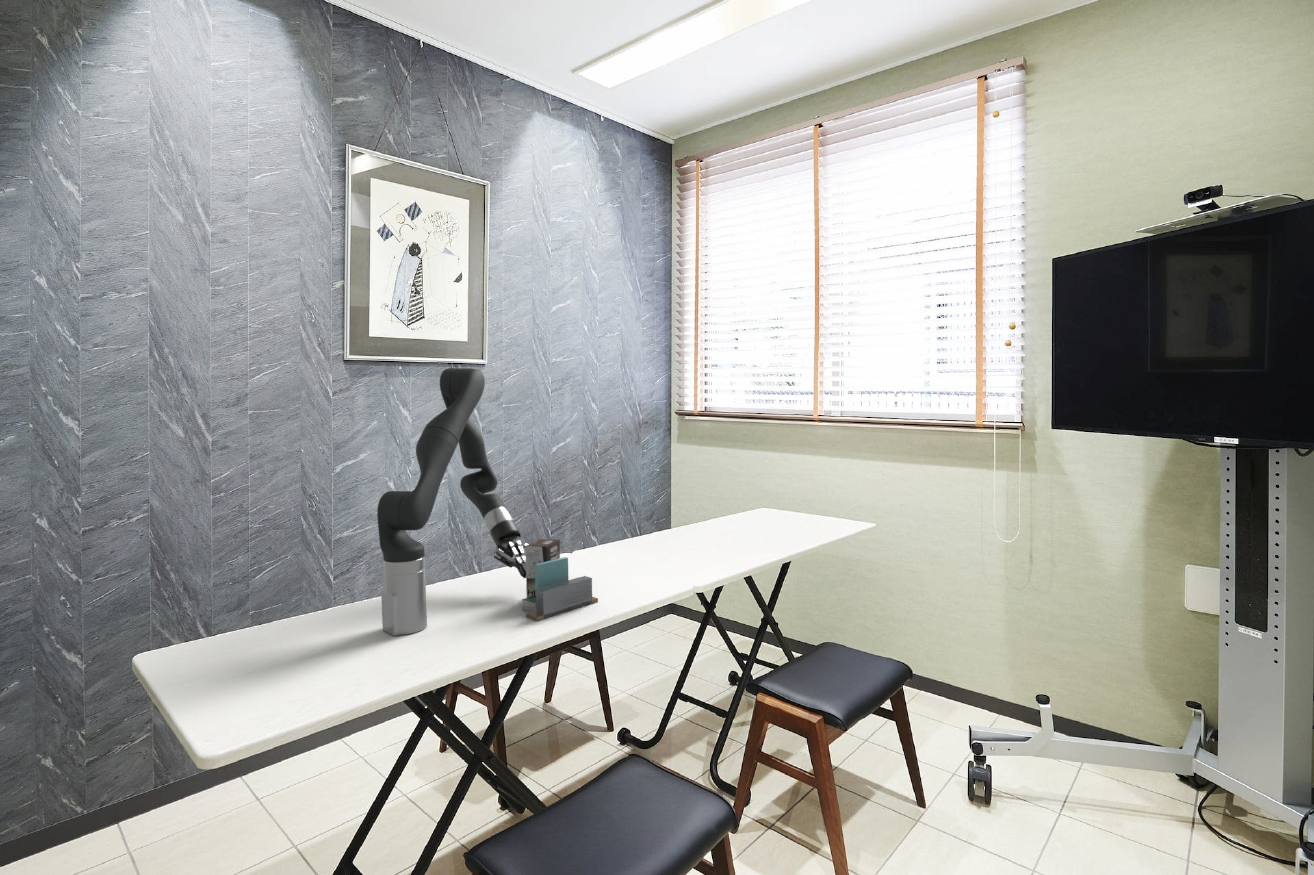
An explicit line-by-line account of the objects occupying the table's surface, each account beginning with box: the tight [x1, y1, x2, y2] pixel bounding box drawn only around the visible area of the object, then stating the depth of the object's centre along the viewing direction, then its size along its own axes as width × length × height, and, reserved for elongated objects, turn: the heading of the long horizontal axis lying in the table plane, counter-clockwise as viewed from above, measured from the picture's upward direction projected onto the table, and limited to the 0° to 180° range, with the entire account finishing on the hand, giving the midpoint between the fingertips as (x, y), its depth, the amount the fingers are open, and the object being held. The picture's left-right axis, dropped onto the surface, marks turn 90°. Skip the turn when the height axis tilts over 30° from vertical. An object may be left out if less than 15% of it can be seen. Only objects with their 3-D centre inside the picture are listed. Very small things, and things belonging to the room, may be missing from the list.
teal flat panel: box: [528, 556, 570, 600], centre depth 171 cm, size 13×1×10 cm, turn 137°
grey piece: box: [521, 575, 599, 622], centre depth 171 cm, size 20×10×7 cm, turn 137°
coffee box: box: [525, 538, 561, 599], centre depth 176 cm, size 9×6×16 cm
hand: (527, 576), depth 180 cm, fingers closed
